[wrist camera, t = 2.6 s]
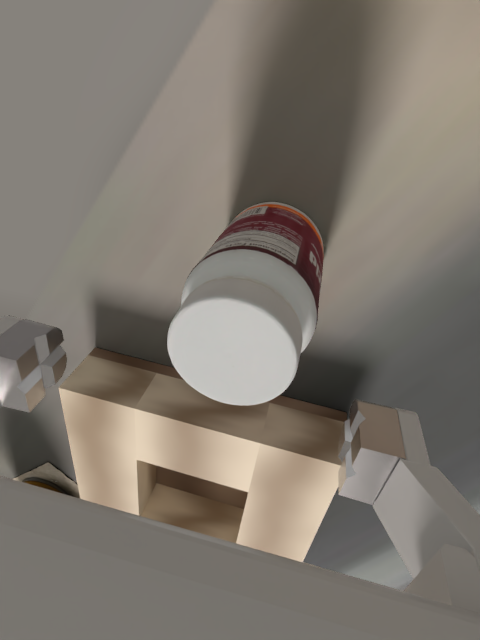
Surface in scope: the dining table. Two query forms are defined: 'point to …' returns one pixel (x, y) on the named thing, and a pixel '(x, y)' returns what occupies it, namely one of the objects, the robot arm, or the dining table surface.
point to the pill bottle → (250, 306)
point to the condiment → (44, 477)
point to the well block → (200, 454)
